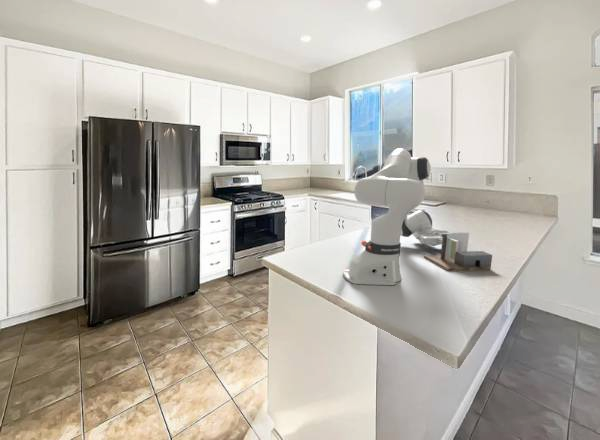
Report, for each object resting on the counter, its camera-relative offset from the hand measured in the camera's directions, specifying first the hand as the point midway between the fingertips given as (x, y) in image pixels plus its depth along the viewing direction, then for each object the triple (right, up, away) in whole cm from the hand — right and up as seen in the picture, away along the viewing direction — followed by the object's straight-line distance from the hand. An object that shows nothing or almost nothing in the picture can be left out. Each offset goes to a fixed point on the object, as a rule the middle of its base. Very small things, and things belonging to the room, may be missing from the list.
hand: (448, 243), depth 154 cm
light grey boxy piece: (0, -6, -10) cm, 12 cm away
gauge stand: (-2, -8, -10) cm, 13 cm away
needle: (-7, -6, -8) cm, 13 cm away
